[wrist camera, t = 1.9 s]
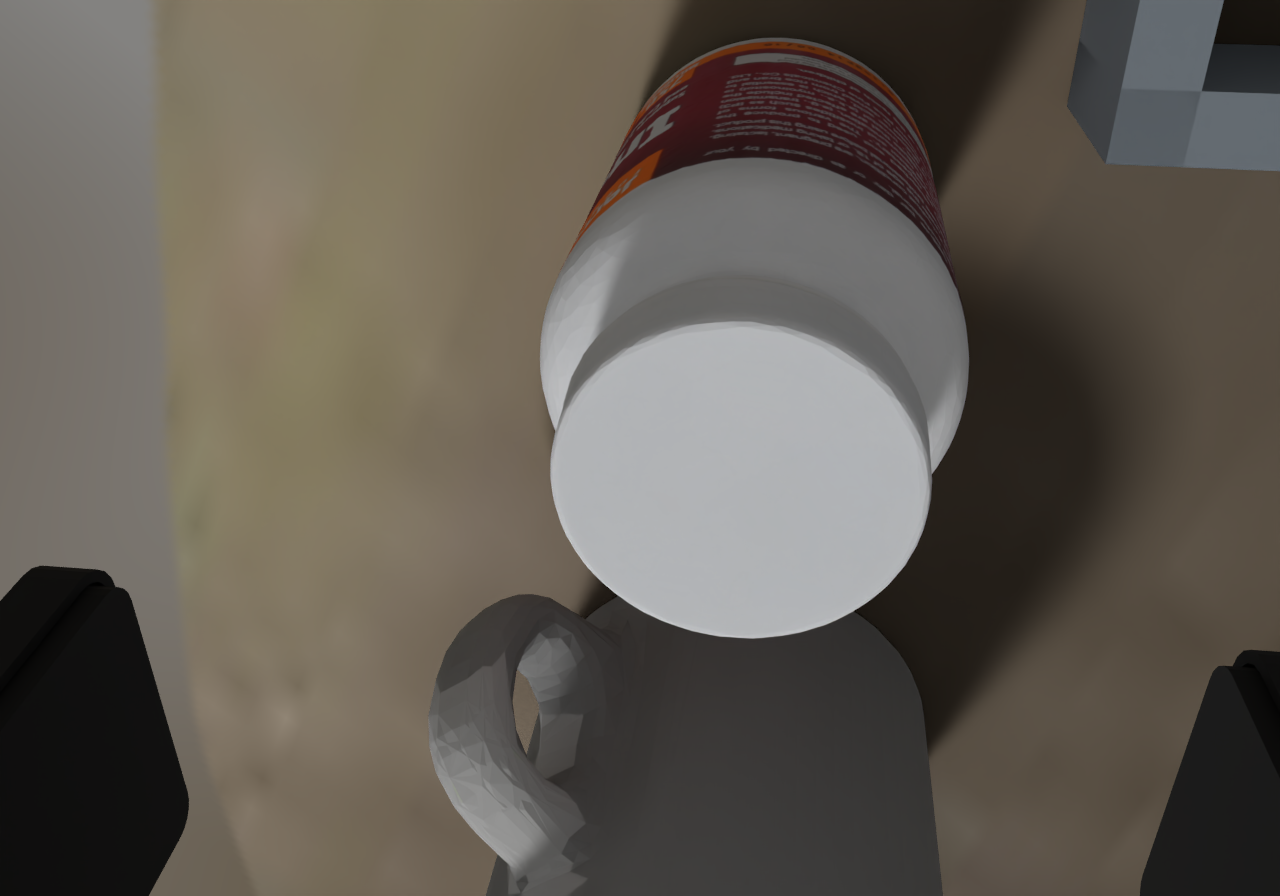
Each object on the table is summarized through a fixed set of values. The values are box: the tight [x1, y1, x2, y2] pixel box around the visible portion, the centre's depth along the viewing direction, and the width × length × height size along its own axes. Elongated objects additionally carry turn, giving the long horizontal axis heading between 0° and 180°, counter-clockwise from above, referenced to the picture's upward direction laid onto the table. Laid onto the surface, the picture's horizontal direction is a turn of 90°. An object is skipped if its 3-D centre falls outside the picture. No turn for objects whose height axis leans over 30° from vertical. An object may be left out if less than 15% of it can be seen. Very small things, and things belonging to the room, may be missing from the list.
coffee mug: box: [429, 594, 943, 896], centre depth 26 cm, size 13×10×10 cm
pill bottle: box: [540, 38, 969, 638], centre depth 19 cm, size 6×6×11 cm
